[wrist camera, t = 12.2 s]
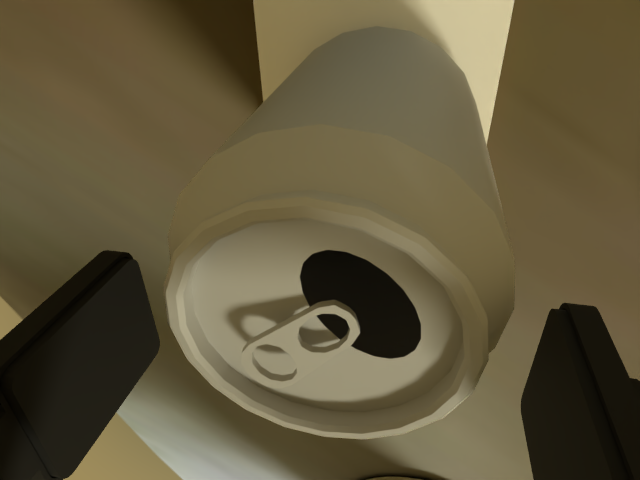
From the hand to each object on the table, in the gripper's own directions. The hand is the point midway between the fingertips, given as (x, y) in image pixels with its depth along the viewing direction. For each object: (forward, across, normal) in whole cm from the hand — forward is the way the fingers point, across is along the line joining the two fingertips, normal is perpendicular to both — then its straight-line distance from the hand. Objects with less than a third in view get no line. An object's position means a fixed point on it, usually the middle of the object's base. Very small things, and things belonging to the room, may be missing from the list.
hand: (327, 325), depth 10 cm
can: (+10, 0, -2) cm, 11 cm away
